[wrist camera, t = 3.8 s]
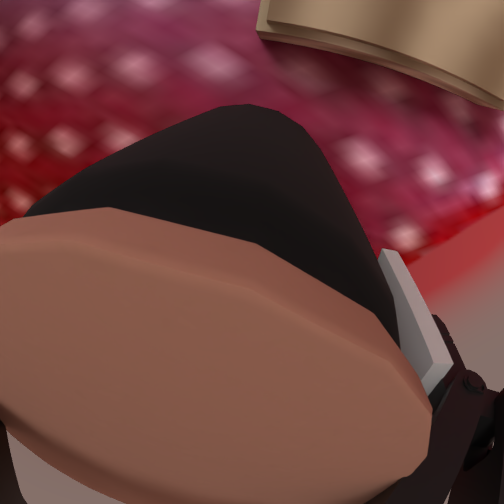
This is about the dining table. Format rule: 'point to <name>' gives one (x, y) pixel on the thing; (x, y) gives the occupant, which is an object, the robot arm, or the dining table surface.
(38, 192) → the dining table surface
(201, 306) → the coffee jar
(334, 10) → the plinth
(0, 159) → the dining table surface
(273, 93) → the dining table surface
